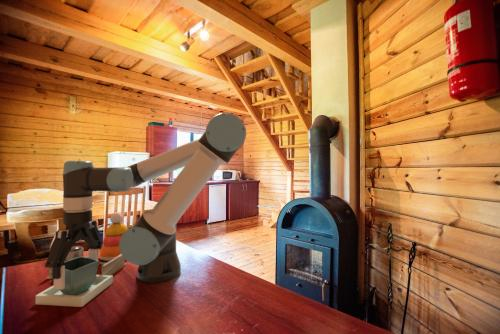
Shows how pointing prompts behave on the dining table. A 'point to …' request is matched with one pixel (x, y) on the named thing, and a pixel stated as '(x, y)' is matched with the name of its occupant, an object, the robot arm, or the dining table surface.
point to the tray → (79, 300)
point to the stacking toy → (113, 238)
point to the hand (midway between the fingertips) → (77, 277)
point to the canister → (75, 253)
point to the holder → (105, 266)
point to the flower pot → (79, 275)
